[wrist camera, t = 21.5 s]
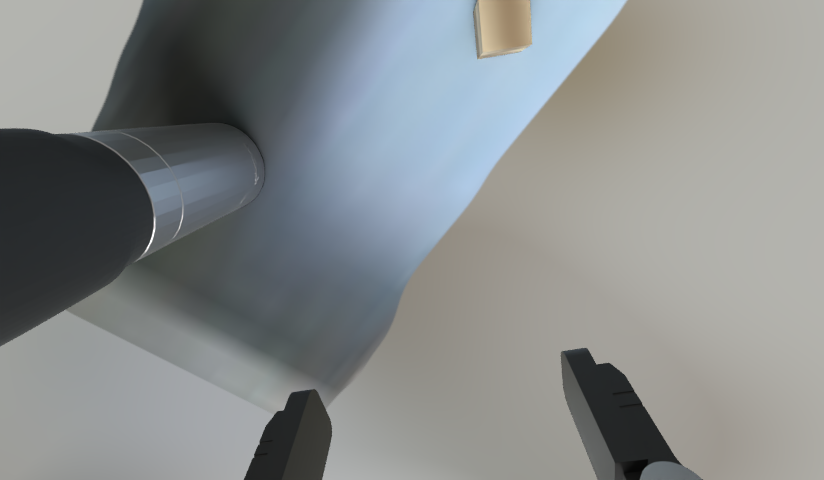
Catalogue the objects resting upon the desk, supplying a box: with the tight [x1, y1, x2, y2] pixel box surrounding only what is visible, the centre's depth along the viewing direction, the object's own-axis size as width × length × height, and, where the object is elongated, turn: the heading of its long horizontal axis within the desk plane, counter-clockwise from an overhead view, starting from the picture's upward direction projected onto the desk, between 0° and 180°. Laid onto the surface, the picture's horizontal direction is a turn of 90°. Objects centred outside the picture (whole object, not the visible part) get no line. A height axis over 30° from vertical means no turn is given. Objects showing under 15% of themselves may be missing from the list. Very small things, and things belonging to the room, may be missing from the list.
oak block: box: [473, 0, 532, 59], centre depth 34 cm, size 4×4×5 cm
